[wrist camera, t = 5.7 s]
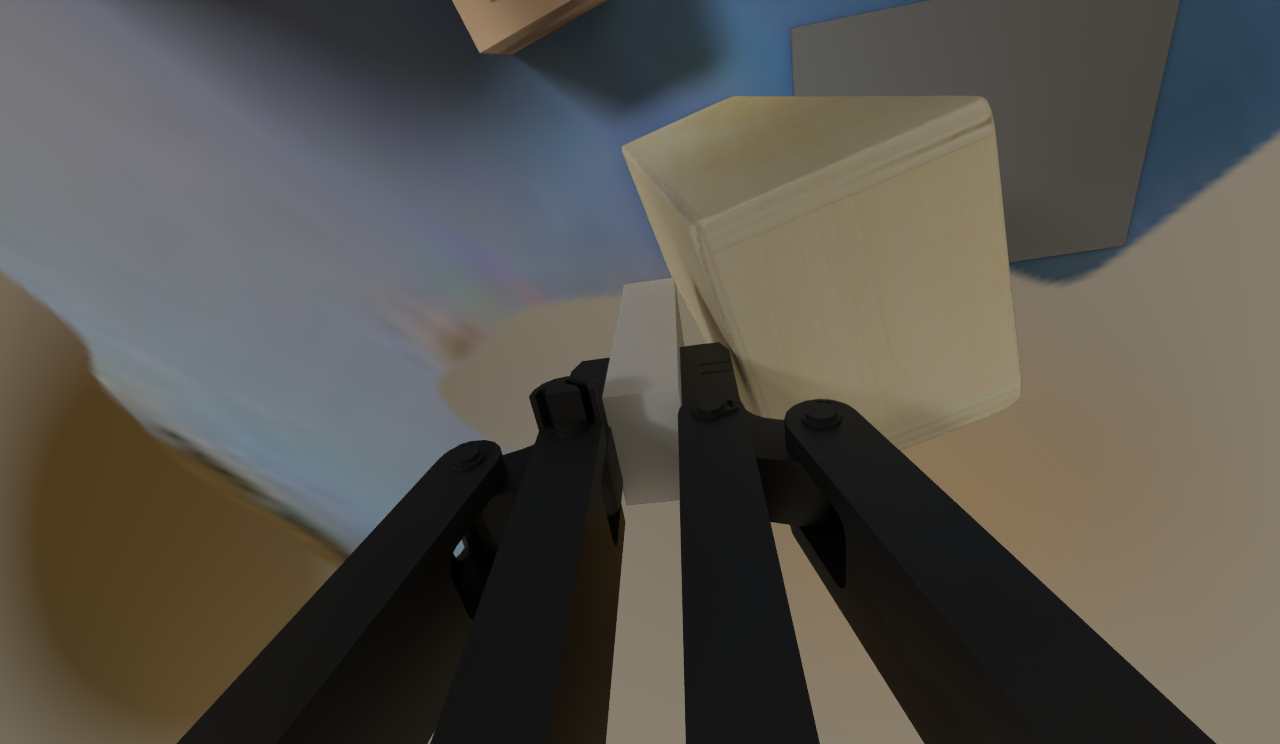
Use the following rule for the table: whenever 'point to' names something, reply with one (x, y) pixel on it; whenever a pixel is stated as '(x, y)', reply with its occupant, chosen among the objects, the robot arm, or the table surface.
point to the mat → (1020, 97)
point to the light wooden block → (843, 252)
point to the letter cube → (517, 21)
